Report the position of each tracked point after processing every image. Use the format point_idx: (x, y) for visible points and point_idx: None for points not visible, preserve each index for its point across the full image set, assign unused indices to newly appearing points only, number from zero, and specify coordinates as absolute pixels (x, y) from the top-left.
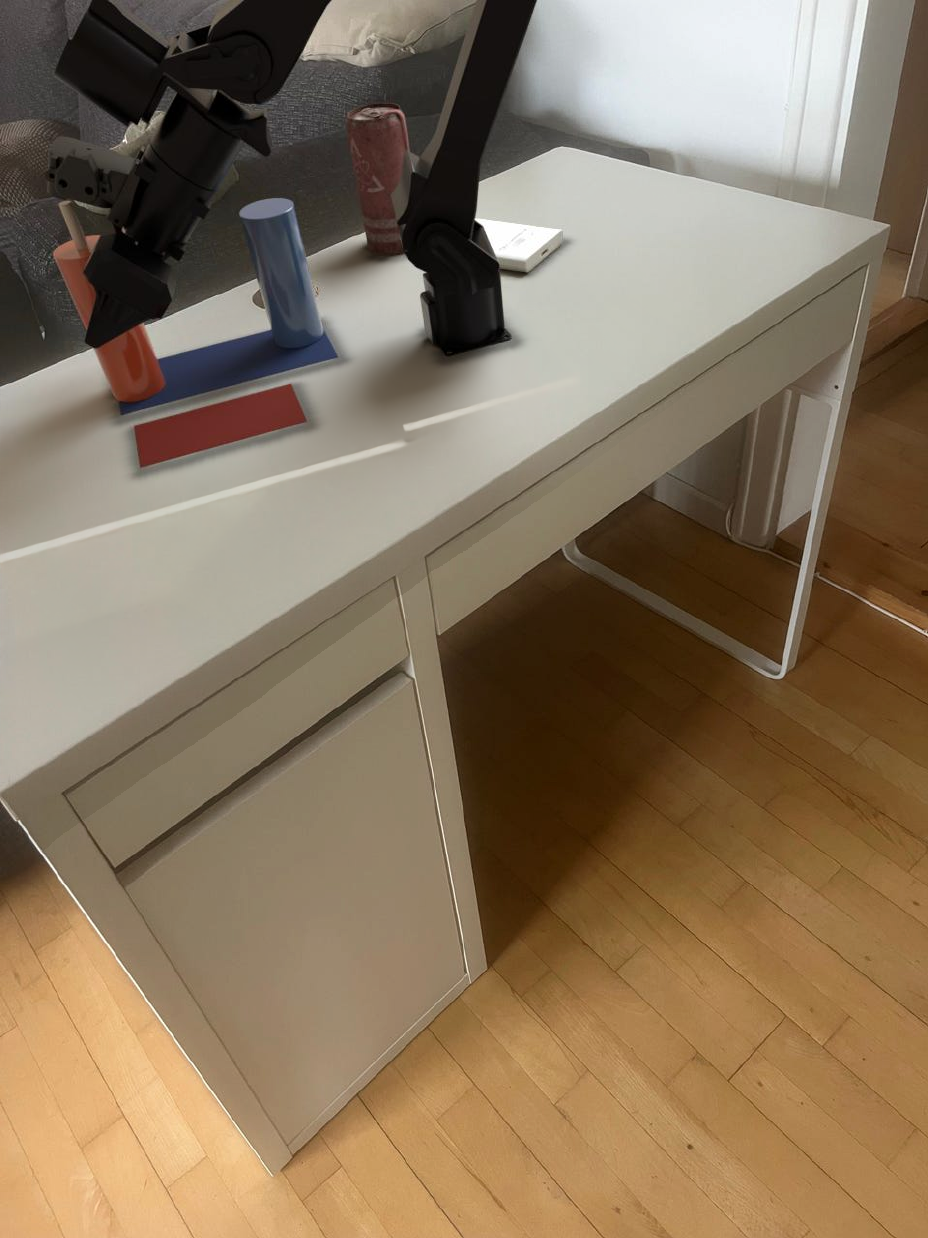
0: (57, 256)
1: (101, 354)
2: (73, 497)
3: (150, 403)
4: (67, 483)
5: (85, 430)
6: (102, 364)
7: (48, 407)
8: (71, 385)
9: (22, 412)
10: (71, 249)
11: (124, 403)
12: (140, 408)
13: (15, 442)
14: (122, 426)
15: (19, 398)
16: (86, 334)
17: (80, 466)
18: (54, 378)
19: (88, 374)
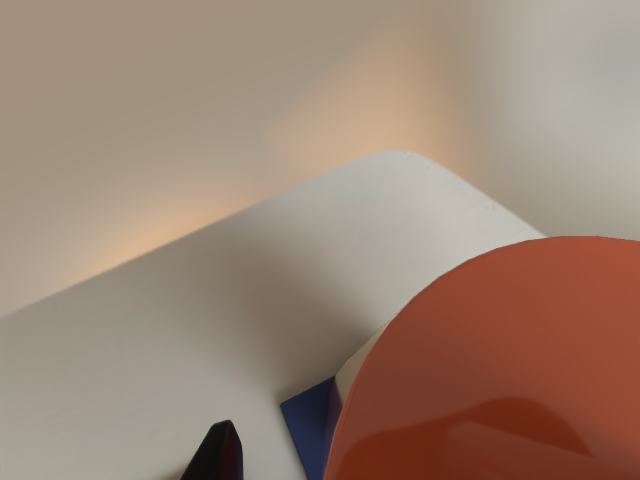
0: (410, 336)
1: (332, 386)
2: (30, 409)
3: (319, 464)
4: (80, 376)
5: (253, 334)
6: (339, 370)
7: (337, 228)
8: (411, 237)
9: (324, 191)
10: (588, 425)
11: (323, 394)
12: (299, 446)
13: (233, 221)
14: (257, 412)
15: (368, 167)
16: (193, 457)
17: (130, 378)
18: (433, 196)
19: (451, 253)
